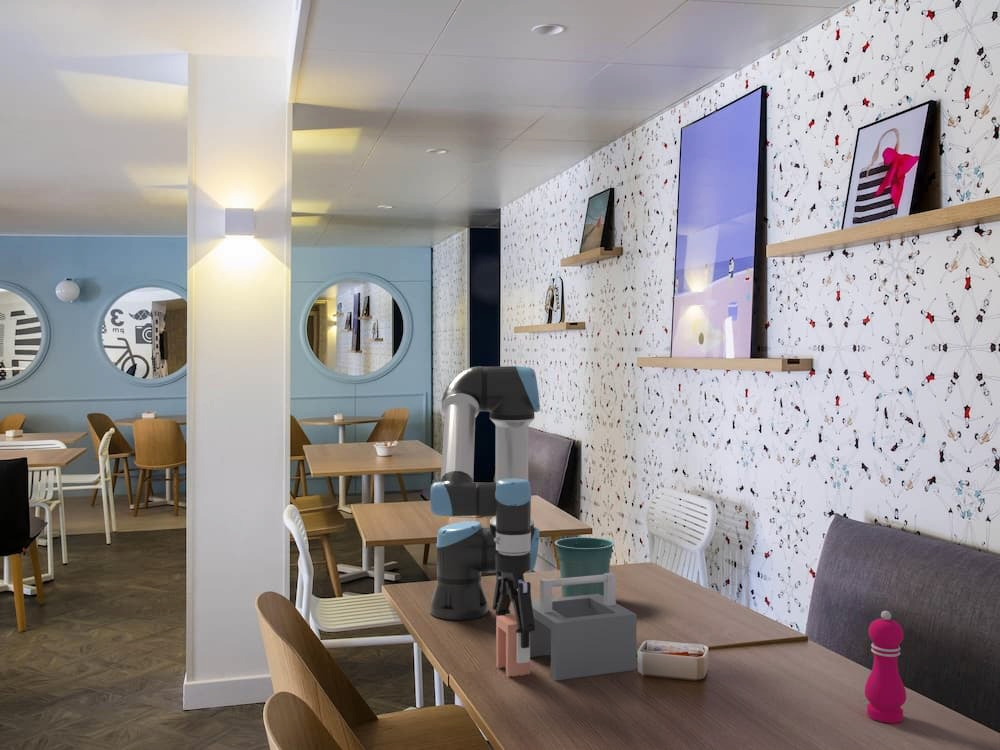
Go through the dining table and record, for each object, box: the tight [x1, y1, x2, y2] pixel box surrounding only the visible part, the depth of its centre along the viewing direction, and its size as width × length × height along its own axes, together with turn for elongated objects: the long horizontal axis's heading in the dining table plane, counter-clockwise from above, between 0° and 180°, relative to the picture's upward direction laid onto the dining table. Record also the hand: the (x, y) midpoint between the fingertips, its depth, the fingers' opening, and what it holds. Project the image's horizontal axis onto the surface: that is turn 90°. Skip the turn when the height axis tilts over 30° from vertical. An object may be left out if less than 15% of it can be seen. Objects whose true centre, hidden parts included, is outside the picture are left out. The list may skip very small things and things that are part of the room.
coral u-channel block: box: [495, 613, 531, 678], centre depth 196 cm, size 7×5×11 cm
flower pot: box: [554, 536, 615, 597], centre depth 252 cm, size 16×16×16 cm
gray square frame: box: [530, 572, 638, 682], centre depth 202 cm, size 18×19×19 cm
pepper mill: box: [864, 610, 907, 724], centre depth 171 cm, size 7×7×20 cm
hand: (512, 653), depth 196 cm, fingers open, 11 cm apart
